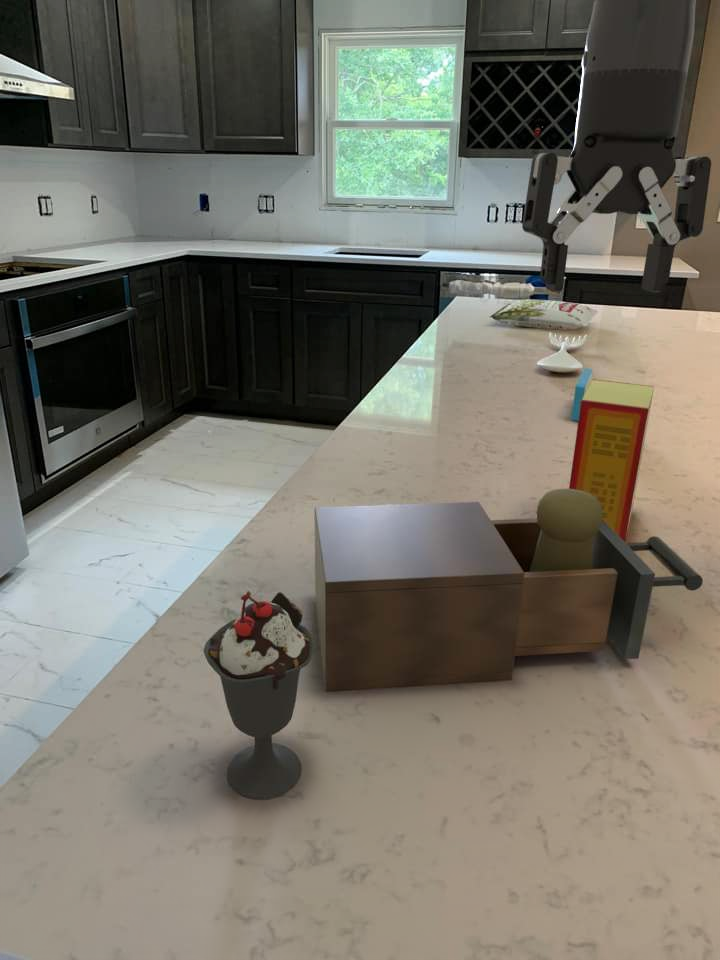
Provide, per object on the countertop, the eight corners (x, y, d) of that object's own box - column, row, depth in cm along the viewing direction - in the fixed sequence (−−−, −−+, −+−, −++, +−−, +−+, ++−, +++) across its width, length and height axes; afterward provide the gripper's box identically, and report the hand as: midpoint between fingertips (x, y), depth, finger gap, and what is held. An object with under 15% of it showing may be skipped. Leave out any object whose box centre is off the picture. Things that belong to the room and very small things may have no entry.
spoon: (586, 347, 171) (588, 332, 170) (580, 380, 143) (582, 363, 142) (547, 344, 174) (549, 329, 172) (533, 376, 146) (535, 359, 144)
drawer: (639, 581, 70) (653, 507, 67) (705, 654, 60) (725, 570, 57) (442, 591, 68) (448, 515, 65) (475, 668, 58) (483, 581, 55)
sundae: (228, 826, 45) (213, 617, 39) (204, 751, 50) (188, 559, 44) (329, 793, 47) (329, 592, 41) (295, 726, 53) (291, 541, 47)
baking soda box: (575, 503, 89) (593, 376, 83) (631, 513, 87) (654, 383, 81) (562, 536, 81) (581, 397, 75) (623, 548, 79) (649, 405, 73)
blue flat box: (579, 402, 130) (584, 368, 127) (588, 403, 129) (593, 369, 127) (570, 421, 119) (575, 384, 117) (580, 422, 119) (585, 385, 116)
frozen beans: (510, 292, 207) (601, 300, 197) (508, 313, 210) (598, 321, 200) (489, 305, 190) (587, 314, 180) (487, 328, 192) (584, 337, 183)
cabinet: (470, 595, 69) (478, 501, 66) (512, 681, 58) (525, 573, 54) (315, 602, 68) (314, 507, 64) (325, 693, 56) (325, 582, 52)
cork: (515, 621, 62) (528, 503, 57) (525, 586, 67) (538, 476, 63) (589, 636, 60) (609, 515, 56) (594, 599, 65) (612, 486, 61)
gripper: (561, 60, 51) (535, 298, 57) (753, 67, 52) (707, 297, 59) (526, 73, 57) (506, 284, 64) (696, 79, 59) (661, 284, 65)
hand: (602, 290), depth 61 cm, fingers open, 8 cm apart
